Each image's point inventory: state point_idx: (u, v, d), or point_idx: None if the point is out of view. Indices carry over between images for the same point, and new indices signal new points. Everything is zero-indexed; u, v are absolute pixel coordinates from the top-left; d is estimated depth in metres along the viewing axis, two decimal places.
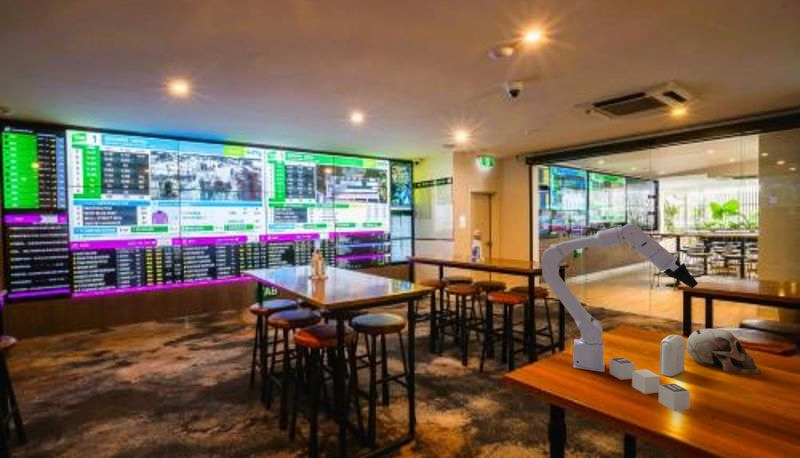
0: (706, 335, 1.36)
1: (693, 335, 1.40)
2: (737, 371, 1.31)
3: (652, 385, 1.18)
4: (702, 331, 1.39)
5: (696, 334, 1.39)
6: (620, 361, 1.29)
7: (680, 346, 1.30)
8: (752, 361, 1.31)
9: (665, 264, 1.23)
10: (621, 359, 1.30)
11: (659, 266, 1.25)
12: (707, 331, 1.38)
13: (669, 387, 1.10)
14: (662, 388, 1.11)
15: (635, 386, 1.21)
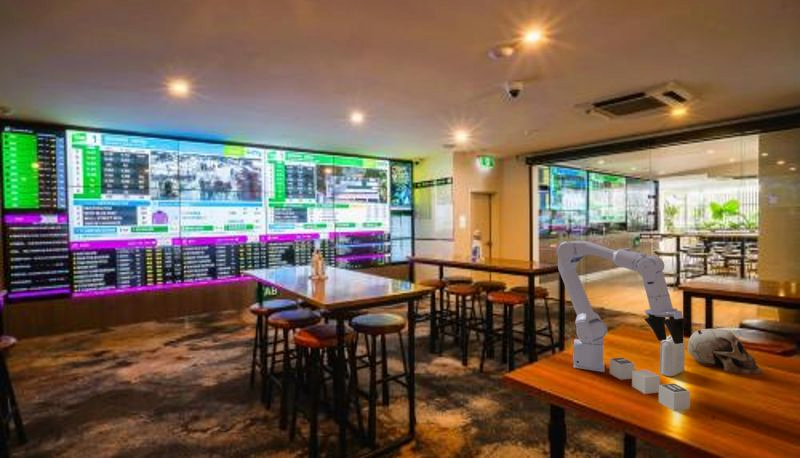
0: (707, 335, 1.36)
1: (694, 335, 1.40)
2: (738, 371, 1.31)
3: (652, 385, 1.18)
4: (703, 331, 1.38)
5: (697, 334, 1.39)
6: (620, 361, 1.29)
7: (680, 346, 1.30)
8: (753, 361, 1.31)
9: (665, 310, 1.17)
10: (621, 359, 1.30)
11: (657, 309, 1.18)
12: (708, 331, 1.37)
13: (669, 387, 1.10)
14: (662, 388, 1.11)
15: (635, 386, 1.21)
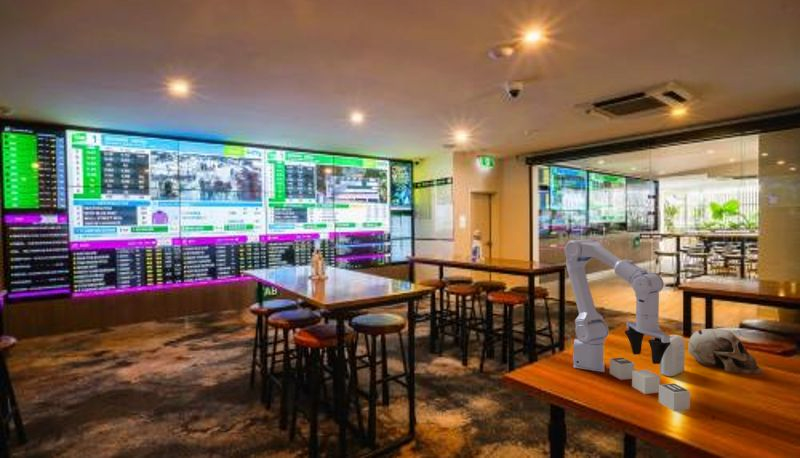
0: (708, 335, 1.36)
1: (695, 335, 1.39)
2: (739, 371, 1.30)
3: (652, 385, 1.18)
4: (704, 331, 1.38)
5: (698, 334, 1.39)
6: (620, 361, 1.29)
7: (680, 346, 1.30)
8: (754, 361, 1.31)
9: (652, 330, 1.16)
10: (621, 359, 1.30)
11: (644, 328, 1.17)
12: (709, 331, 1.37)
13: (669, 387, 1.10)
14: (662, 388, 1.11)
15: (635, 386, 1.21)
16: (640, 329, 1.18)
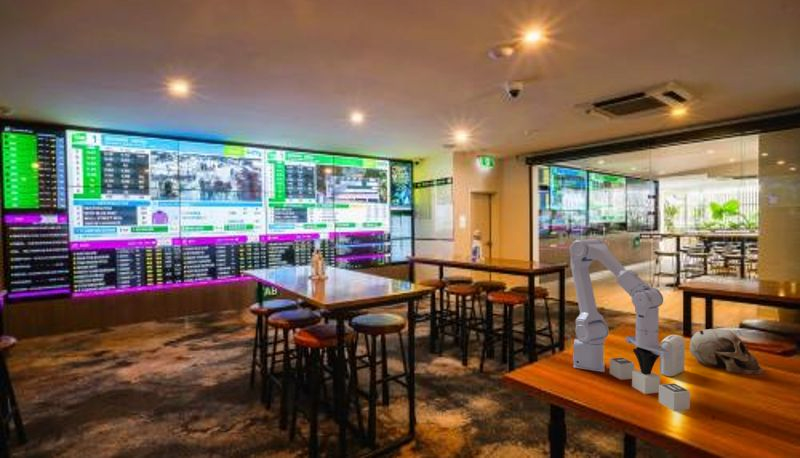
0: (709, 335, 1.36)
1: (696, 335, 1.39)
2: (740, 371, 1.30)
3: (652, 385, 1.18)
4: (705, 331, 1.38)
5: (699, 334, 1.38)
6: (620, 361, 1.29)
7: (680, 346, 1.30)
8: (756, 362, 1.31)
9: (651, 345, 1.17)
10: (621, 359, 1.30)
11: (644, 343, 1.17)
12: (710, 331, 1.37)
13: (669, 387, 1.10)
14: (662, 388, 1.11)
15: (635, 386, 1.21)
16: (640, 344, 1.18)
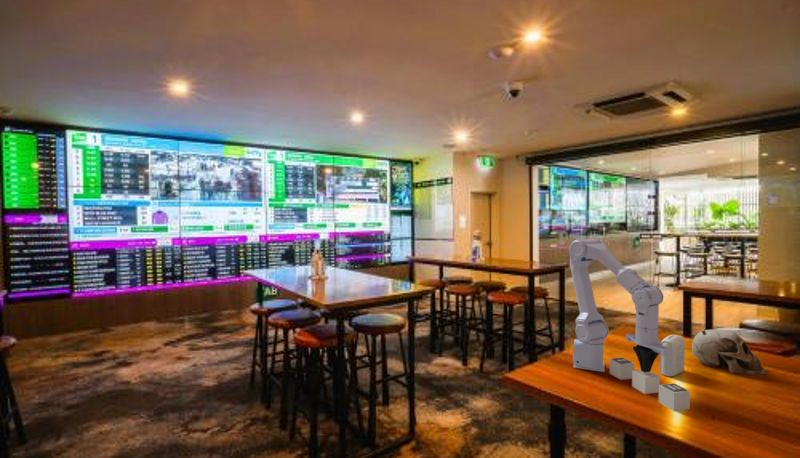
0: (712, 336, 1.35)
1: (699, 336, 1.39)
2: (743, 372, 1.30)
3: (652, 385, 1.18)
4: (708, 332, 1.38)
5: (702, 335, 1.38)
6: (620, 361, 1.29)
7: (680, 346, 1.30)
8: (758, 362, 1.30)
9: (651, 343, 1.17)
10: (621, 359, 1.30)
11: (644, 341, 1.17)
12: (713, 332, 1.37)
13: (669, 387, 1.10)
14: (662, 388, 1.11)
15: (635, 386, 1.21)
16: (640, 342, 1.18)
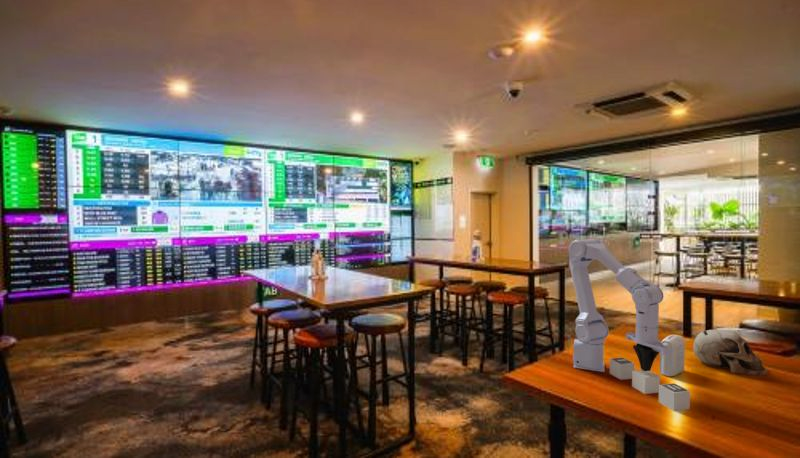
0: (713, 336, 1.35)
1: (700, 336, 1.39)
2: (745, 372, 1.30)
3: (652, 385, 1.18)
4: (709, 332, 1.37)
5: (703, 335, 1.38)
6: (620, 361, 1.29)
7: (680, 346, 1.30)
8: (760, 362, 1.30)
9: (651, 342, 1.17)
10: (621, 359, 1.30)
11: (644, 339, 1.17)
12: (714, 332, 1.36)
13: (669, 387, 1.10)
14: (662, 388, 1.11)
15: (635, 386, 1.21)
16: (640, 341, 1.18)
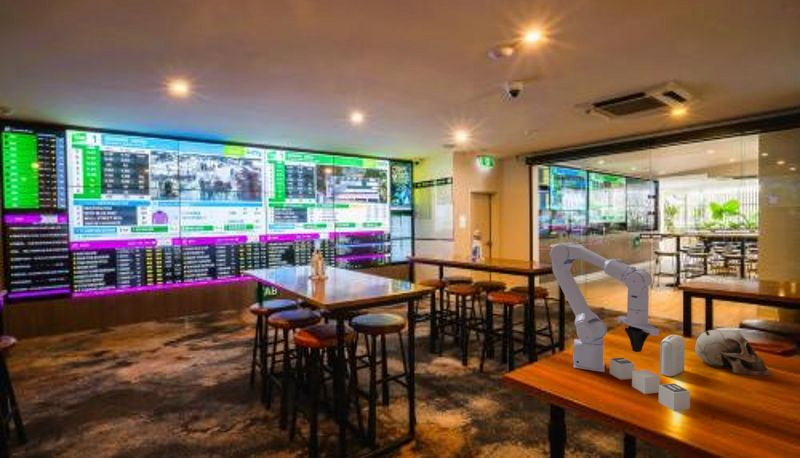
0: (715, 336, 1.35)
1: (702, 336, 1.38)
2: (747, 373, 1.29)
3: (652, 385, 1.18)
4: (711, 332, 1.37)
5: (705, 335, 1.37)
6: (620, 361, 1.29)
7: (680, 346, 1.30)
8: (762, 363, 1.30)
9: (642, 324, 1.23)
10: (621, 359, 1.30)
11: (635, 322, 1.23)
12: (716, 332, 1.36)
13: (669, 387, 1.10)
14: (662, 388, 1.11)
15: (635, 386, 1.21)
16: (631, 323, 1.24)
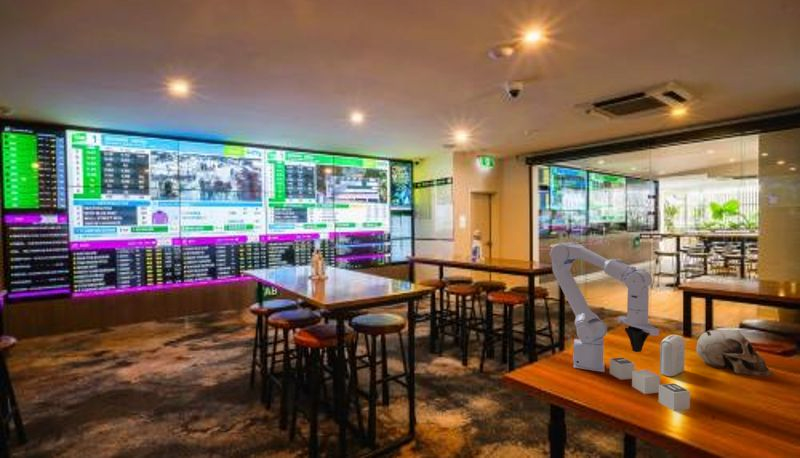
0: (717, 337, 1.34)
1: (703, 337, 1.38)
2: (748, 373, 1.29)
3: (652, 385, 1.18)
4: (712, 333, 1.37)
5: (706, 336, 1.37)
6: (620, 361, 1.29)
7: (680, 346, 1.30)
8: (764, 363, 1.30)
9: (642, 324, 1.23)
10: (621, 359, 1.30)
11: (635, 322, 1.23)
12: (718, 333, 1.36)
13: (669, 387, 1.10)
14: (662, 388, 1.11)
15: (635, 386, 1.21)
16: (631, 323, 1.24)
